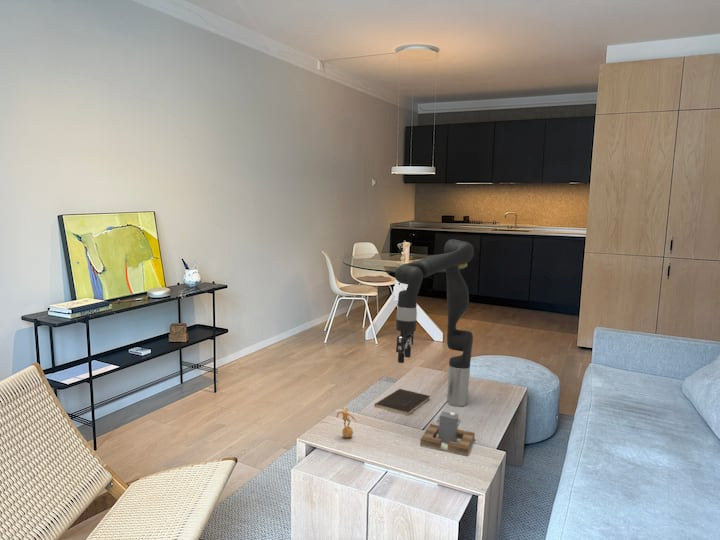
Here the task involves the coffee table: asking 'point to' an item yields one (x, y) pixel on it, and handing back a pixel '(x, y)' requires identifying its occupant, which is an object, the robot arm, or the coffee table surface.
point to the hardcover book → (402, 401)
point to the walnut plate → (456, 447)
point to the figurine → (347, 430)
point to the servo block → (448, 426)
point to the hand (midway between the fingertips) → (404, 359)
